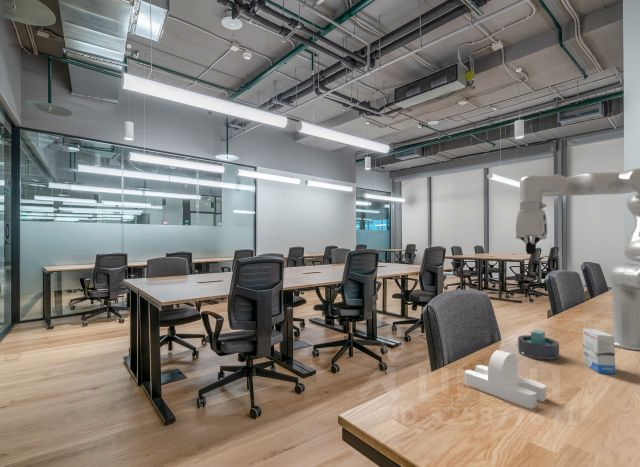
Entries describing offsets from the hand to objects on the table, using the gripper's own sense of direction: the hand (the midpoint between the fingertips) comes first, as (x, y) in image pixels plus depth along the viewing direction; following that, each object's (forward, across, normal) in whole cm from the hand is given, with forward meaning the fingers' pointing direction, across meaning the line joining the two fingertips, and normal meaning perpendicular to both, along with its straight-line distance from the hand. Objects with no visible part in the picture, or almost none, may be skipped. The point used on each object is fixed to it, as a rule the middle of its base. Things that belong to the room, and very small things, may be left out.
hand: (530, 253), depth 135 cm
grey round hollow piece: (+35, -7, +12) cm, 38 cm away
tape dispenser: (+36, -13, +51) cm, 64 cm away
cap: (+34, -7, +12) cm, 37 cm away
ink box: (+35, -24, +11) cm, 44 cm away
